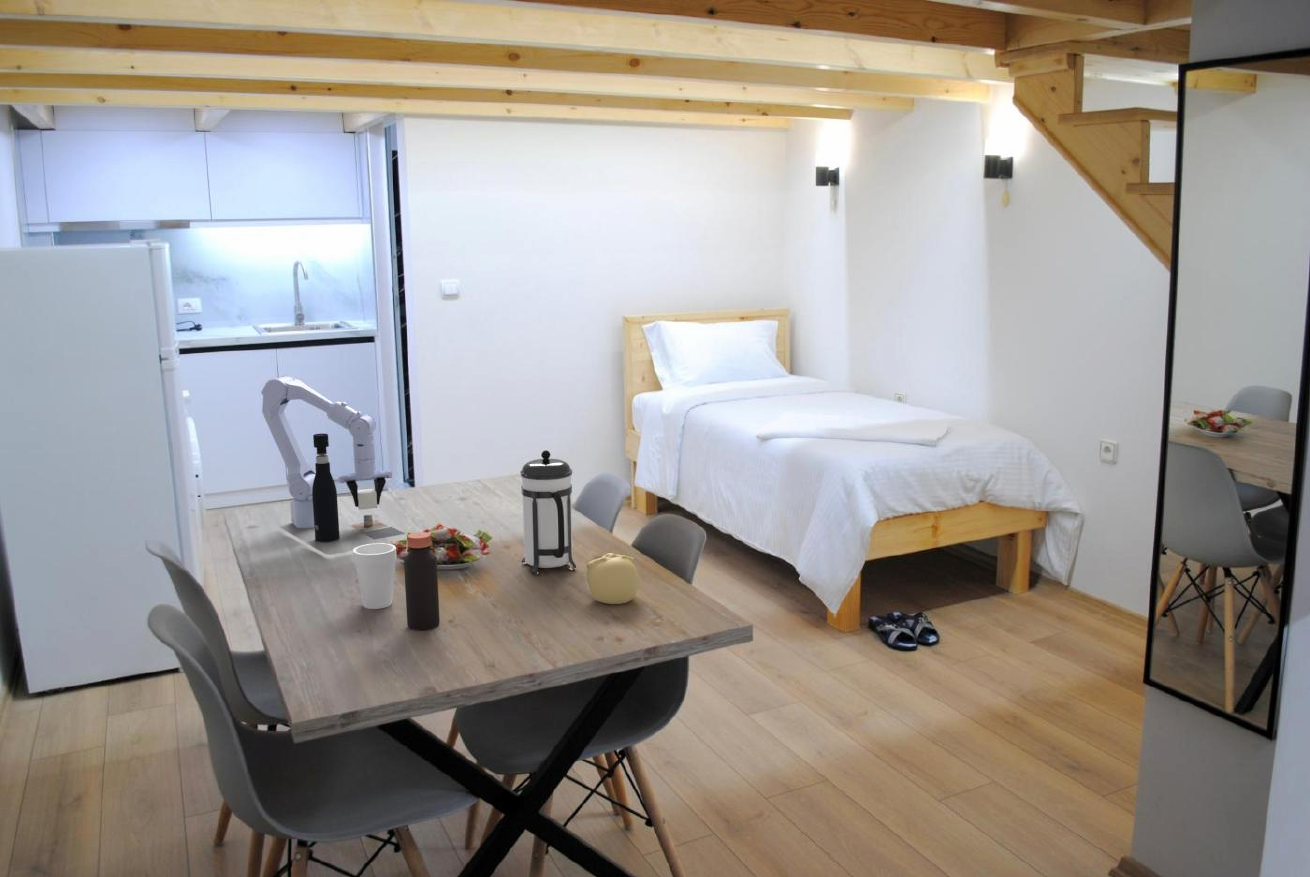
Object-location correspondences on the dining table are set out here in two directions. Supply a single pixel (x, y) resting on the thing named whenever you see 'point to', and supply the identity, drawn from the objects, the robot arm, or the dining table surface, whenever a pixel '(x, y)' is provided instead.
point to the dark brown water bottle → (421, 583)
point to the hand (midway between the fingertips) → (367, 505)
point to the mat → (383, 533)
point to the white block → (367, 499)
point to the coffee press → (547, 513)
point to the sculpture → (613, 578)
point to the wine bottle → (324, 495)
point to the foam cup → (375, 573)
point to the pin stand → (368, 524)
